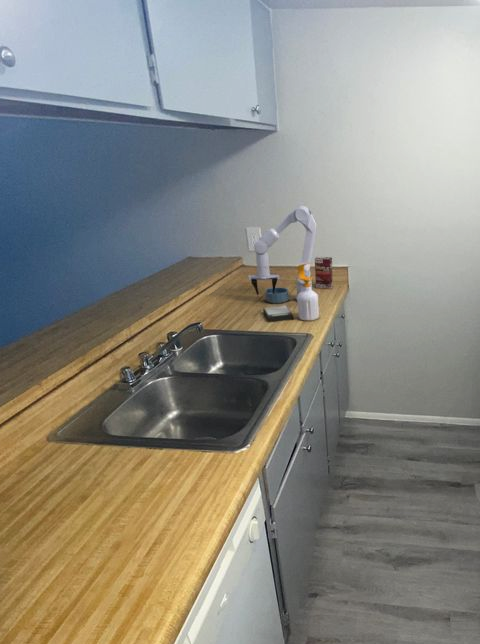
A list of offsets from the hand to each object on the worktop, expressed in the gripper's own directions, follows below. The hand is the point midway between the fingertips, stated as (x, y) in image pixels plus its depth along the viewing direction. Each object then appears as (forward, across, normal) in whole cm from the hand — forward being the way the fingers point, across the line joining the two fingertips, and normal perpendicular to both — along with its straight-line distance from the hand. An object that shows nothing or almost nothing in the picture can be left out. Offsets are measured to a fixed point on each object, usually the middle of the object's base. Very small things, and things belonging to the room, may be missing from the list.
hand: (265, 294), depth 233 cm
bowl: (+3, +6, 0) cm, 6 cm away
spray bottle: (+3, +20, -29) cm, 35 cm away
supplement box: (+3, +30, +21) cm, 37 cm away
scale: (+3, +6, -24) cm, 25 cm away
